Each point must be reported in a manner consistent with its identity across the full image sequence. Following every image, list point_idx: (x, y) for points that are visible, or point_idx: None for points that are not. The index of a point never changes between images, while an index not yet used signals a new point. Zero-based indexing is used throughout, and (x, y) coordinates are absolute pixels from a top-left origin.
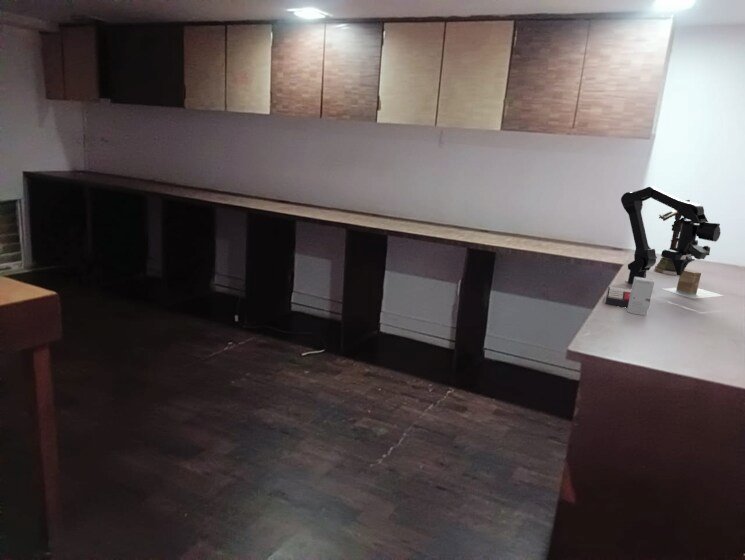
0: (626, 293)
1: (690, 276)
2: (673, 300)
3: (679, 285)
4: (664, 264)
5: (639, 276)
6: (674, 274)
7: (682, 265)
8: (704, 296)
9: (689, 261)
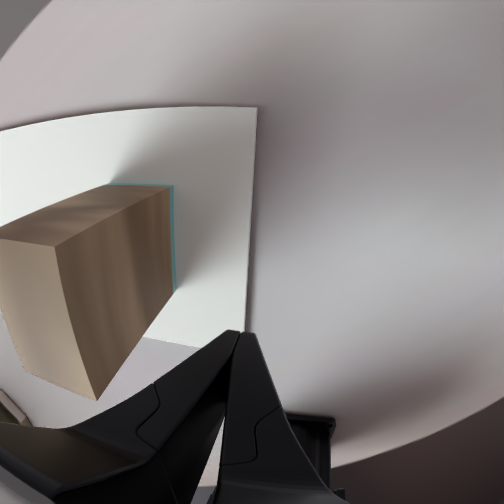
0: None
1: (94, 269)
2: (438, 159)
3: (157, 298)
4: None
5: (313, 466)
6: (1, 393)
7: (266, 443)
8: (94, 133)
9: (76, 464)
